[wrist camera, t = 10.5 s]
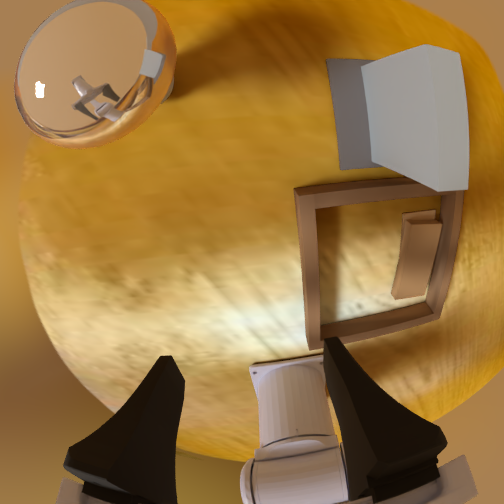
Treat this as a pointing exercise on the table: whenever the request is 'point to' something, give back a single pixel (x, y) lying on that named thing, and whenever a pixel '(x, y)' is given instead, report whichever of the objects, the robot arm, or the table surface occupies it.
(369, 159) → the mat
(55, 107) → the light bulb
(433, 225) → the offcut upper
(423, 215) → the offcut lower
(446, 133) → the light grey slab
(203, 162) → the table surface
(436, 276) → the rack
